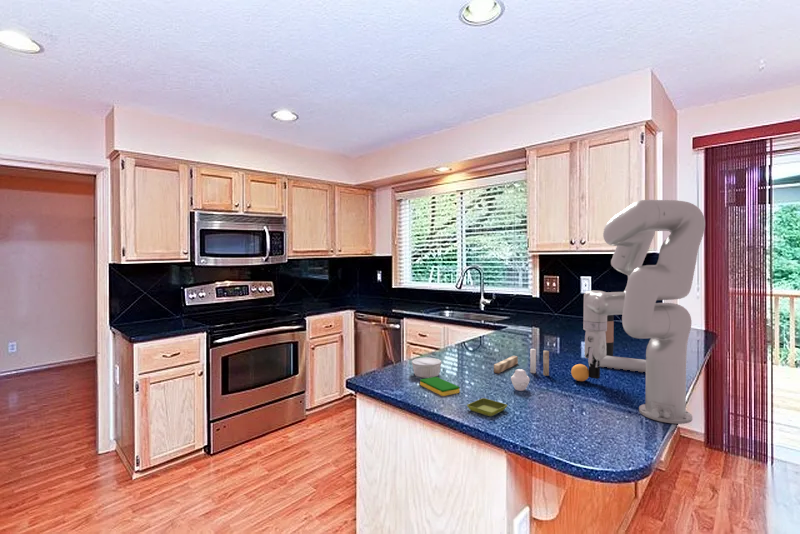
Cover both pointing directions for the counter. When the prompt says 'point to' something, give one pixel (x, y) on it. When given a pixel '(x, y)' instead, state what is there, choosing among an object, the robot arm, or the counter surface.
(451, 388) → the dish sponge
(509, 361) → the rail
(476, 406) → the olive square dish
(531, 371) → the white pin
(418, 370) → the ramekin
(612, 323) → the travel mug
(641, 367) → the tube
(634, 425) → the counter surface
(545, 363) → the birch pin
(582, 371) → the ball
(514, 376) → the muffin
